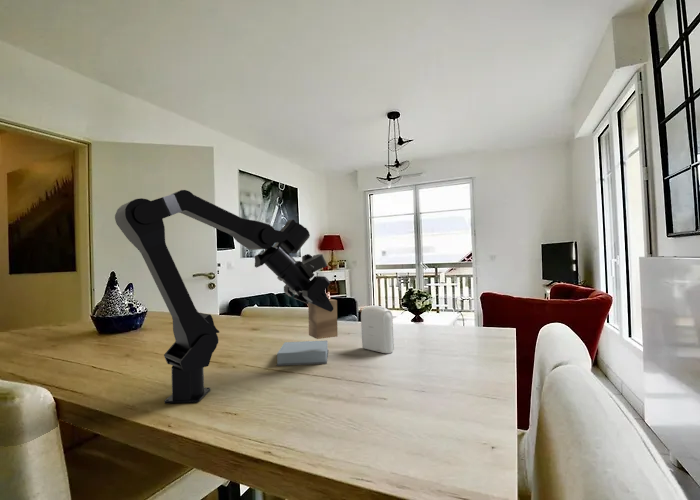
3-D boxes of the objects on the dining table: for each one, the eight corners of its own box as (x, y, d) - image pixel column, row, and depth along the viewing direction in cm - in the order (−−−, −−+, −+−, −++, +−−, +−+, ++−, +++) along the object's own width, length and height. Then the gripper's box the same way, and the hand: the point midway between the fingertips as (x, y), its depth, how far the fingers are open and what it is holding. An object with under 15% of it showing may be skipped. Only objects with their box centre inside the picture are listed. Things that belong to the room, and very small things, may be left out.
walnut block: (337, 336, 91) (336, 300, 91) (317, 339, 88) (316, 301, 88) (328, 332, 96) (327, 298, 96) (308, 335, 93) (308, 299, 93)
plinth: (326, 363, 91) (326, 351, 91) (276, 365, 90) (276, 353, 90) (328, 350, 103) (328, 340, 103) (284, 352, 103) (284, 342, 103)
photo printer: (359, 348, 105) (358, 305, 105) (370, 345, 107) (369, 303, 108) (385, 355, 97) (383, 308, 97) (396, 352, 99) (394, 306, 100)
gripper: (321, 241, 82) (364, 287, 87) (294, 244, 99) (332, 283, 104) (288, 277, 79) (335, 323, 83) (266, 275, 95) (306, 313, 100)
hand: (327, 309), depth 93 cm, fingers closed on walnut block, 5 cm apart
